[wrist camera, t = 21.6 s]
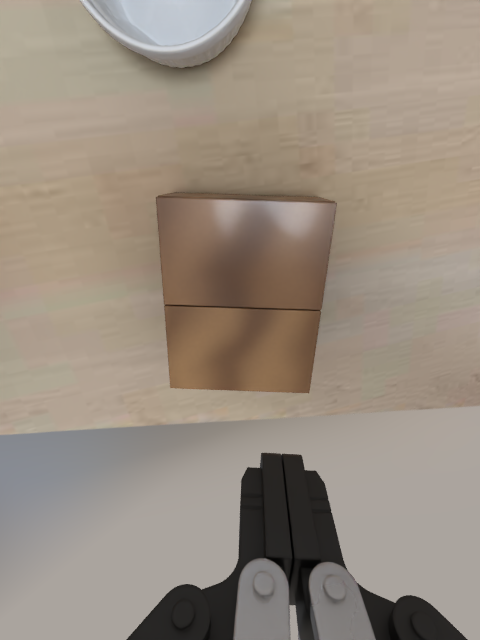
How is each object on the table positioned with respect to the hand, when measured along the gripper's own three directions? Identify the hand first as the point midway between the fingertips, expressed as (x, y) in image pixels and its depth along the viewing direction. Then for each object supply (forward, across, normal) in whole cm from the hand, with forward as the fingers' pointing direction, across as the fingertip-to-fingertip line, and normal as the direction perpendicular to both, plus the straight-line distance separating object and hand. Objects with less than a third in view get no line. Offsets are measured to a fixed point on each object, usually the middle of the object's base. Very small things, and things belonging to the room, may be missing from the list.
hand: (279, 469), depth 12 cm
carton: (+24, -2, 0) cm, 24 cm away
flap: (+18, -2, -5) cm, 18 cm away
